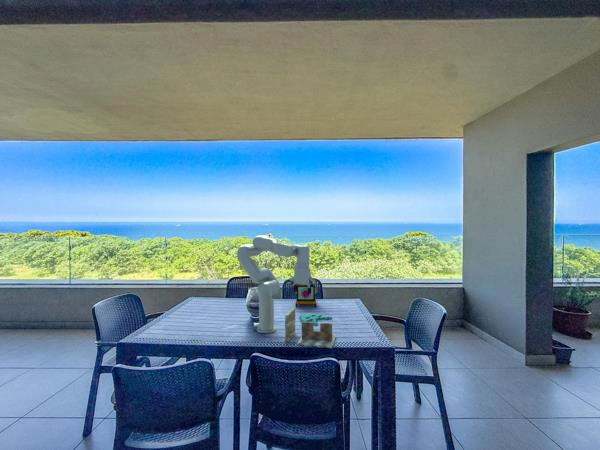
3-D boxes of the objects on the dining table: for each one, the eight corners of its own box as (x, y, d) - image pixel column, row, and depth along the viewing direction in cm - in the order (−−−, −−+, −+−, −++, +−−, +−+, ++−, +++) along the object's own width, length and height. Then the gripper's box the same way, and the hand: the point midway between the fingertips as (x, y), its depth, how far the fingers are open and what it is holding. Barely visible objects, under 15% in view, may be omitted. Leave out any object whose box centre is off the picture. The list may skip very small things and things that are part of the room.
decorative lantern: (295, 302, 288) (295, 268, 288) (317, 302, 287) (317, 268, 287) (293, 308, 268) (293, 272, 268) (317, 308, 267) (317, 272, 267)
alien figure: (332, 319, 237) (310, 315, 249) (332, 316, 237) (310, 312, 249) (315, 326, 221) (293, 321, 234) (315, 323, 221) (293, 318, 234)
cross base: (297, 345, 185) (297, 325, 185) (304, 334, 203) (304, 316, 203) (331, 348, 181) (331, 328, 181) (335, 337, 198) (335, 319, 198)
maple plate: (285, 342, 190) (285, 315, 190) (292, 333, 206) (292, 308, 206) (288, 342, 190) (288, 315, 190) (295, 333, 205) (295, 308, 205)
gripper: (287, 264, 200) (286, 292, 200) (312, 267, 192) (312, 296, 192) (293, 263, 206) (292, 290, 207) (318, 265, 198) (317, 293, 198)
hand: (302, 293), depth 199 cm, fingers open, 9 cm apart
